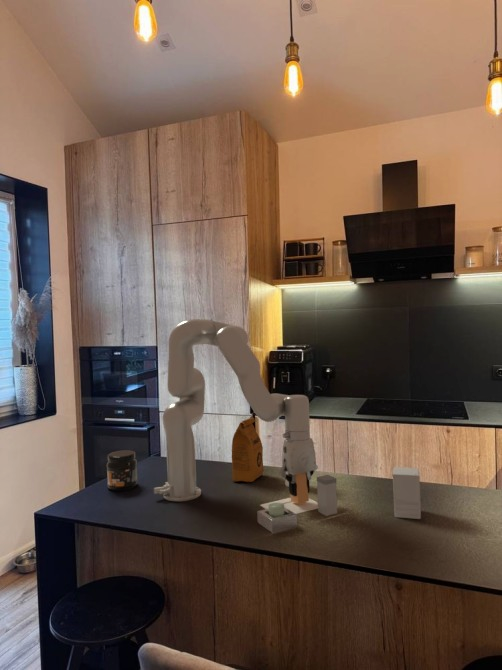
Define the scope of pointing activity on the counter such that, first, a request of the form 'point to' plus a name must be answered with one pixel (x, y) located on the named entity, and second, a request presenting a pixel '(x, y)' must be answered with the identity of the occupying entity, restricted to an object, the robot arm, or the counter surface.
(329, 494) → the grey rectangular prism
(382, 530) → the counter surface
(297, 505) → the sketch pad
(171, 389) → the robot arm
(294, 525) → the button collar
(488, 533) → the counter surface
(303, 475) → the brown box
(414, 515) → the supplement box
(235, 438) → the coffee package
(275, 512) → the button
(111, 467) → the supplement container
